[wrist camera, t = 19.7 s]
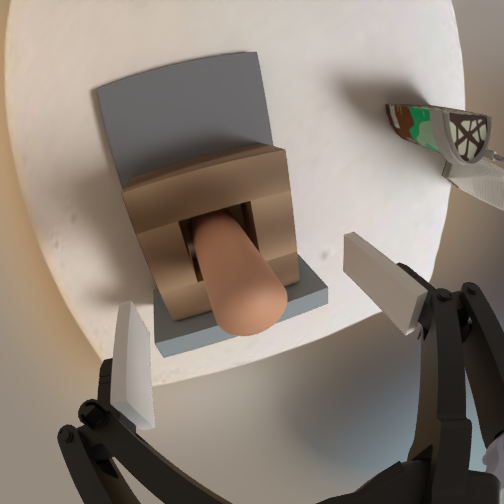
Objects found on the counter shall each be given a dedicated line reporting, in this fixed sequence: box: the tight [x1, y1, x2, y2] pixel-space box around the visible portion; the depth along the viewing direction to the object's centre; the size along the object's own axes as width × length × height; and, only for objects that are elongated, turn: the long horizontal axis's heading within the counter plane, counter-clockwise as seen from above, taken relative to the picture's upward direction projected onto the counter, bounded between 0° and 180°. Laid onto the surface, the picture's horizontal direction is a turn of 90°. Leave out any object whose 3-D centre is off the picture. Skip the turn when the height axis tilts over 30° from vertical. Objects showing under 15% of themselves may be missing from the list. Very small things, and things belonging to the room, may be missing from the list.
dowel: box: [189, 208, 287, 336], centre depth 19 cm, size 4×4×12 cm
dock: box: [97, 52, 328, 358], centre depth 21 cm, size 23×16×8 cm
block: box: [122, 143, 300, 322], centre depth 23 cm, size 12×12×5 cm
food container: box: [385, 104, 492, 165], centre depth 24 cm, size 12×6×10 cm, turn 101°
